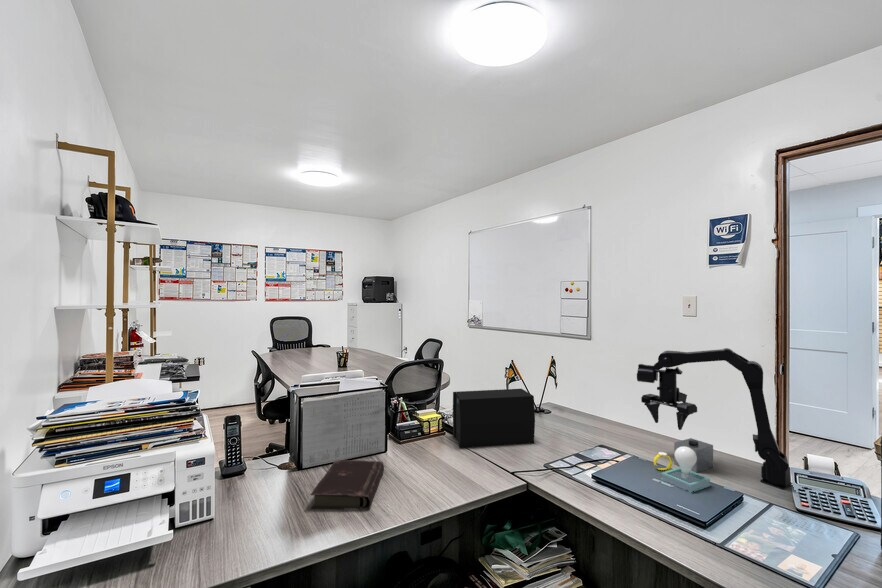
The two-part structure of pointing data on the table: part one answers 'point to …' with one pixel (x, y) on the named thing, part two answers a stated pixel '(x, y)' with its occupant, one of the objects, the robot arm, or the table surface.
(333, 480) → the diary
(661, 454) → the watch
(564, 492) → the table surface
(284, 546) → the table surface
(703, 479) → the tray
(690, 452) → the lightbulb
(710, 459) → the unit
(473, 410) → the uninterruptible power supply
